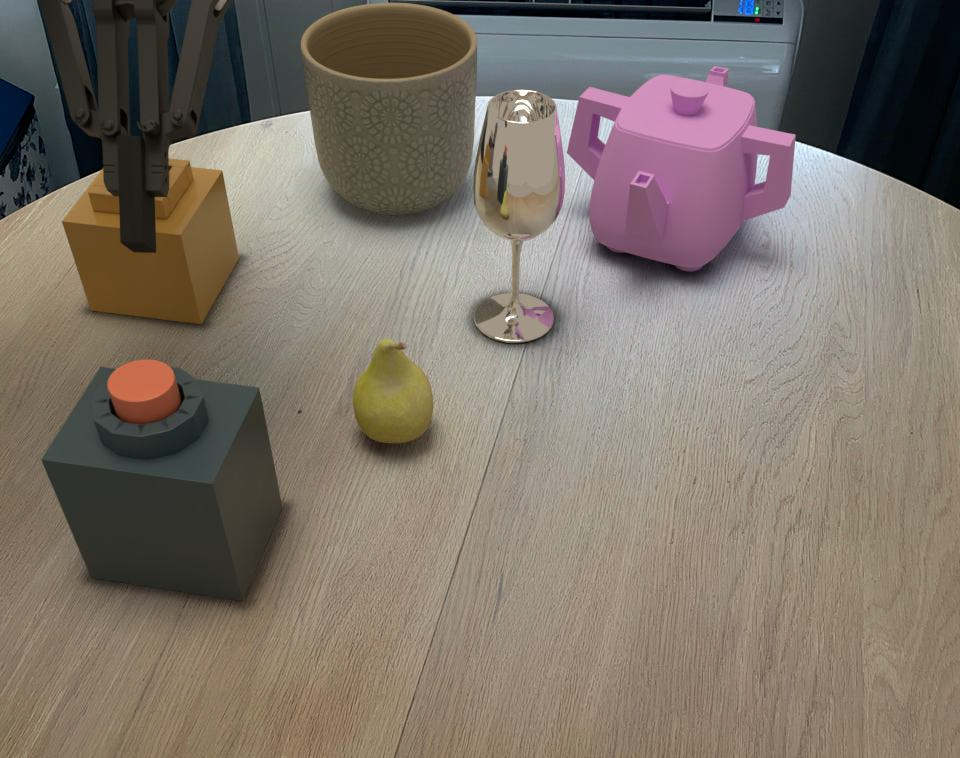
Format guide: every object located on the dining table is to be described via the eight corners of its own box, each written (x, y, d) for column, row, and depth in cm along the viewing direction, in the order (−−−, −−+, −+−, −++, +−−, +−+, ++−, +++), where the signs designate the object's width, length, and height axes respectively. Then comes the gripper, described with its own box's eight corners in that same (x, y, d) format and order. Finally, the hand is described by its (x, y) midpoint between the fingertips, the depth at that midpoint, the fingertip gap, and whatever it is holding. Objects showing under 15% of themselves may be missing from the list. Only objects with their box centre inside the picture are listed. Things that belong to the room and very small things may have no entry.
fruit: (418, 399, 94) (412, 279, 85) (449, 453, 90) (447, 333, 80) (345, 418, 92) (331, 297, 83) (374, 474, 88) (362, 354, 79)
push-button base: (90, 310, 102) (55, 202, 93) (134, 246, 108) (105, 139, 100) (201, 324, 100) (176, 215, 92) (239, 258, 107) (218, 151, 98)
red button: (104, 421, 72) (96, 396, 70) (129, 379, 74) (122, 355, 73) (167, 429, 71) (160, 405, 70) (190, 387, 74) (184, 363, 72)
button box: (90, 577, 81) (30, 436, 70) (140, 486, 87) (92, 343, 76) (242, 601, 80) (206, 461, 69) (282, 507, 86) (255, 364, 75)
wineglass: (455, 317, 101) (452, 103, 86) (515, 284, 105) (523, 73, 89) (511, 356, 98) (520, 140, 82) (572, 321, 101) (591, 108, 85)
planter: (308, 232, 110) (288, 78, 98) (328, 148, 120) (312, -1, 108) (473, 236, 110) (473, 82, 98) (479, 152, 120) (480, 3, 108)
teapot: (704, 174, 118) (730, 27, 106) (794, 263, 107) (834, 111, 95) (543, 209, 113) (552, 60, 101) (621, 305, 103) (641, 152, 91)
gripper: (244, -110, 71) (250, 261, 74) (46, -112, 71) (60, 260, 74) (216, -182, 63) (225, 234, 66) (-5, -184, 63) (13, 232, 66)
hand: (138, 247), depth 70 cm, fingers closed
